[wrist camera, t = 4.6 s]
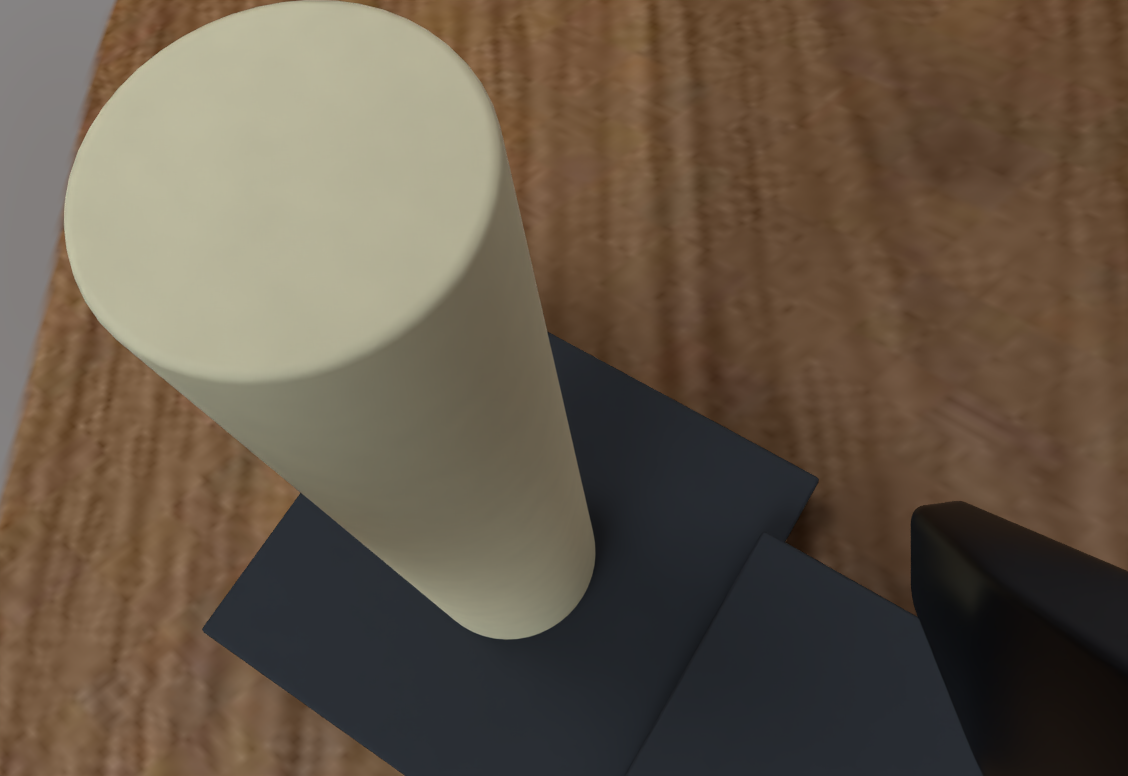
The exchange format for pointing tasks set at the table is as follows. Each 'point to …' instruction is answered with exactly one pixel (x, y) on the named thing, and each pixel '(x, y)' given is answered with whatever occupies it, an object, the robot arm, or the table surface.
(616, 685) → the tongue pad
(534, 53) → the table surface
